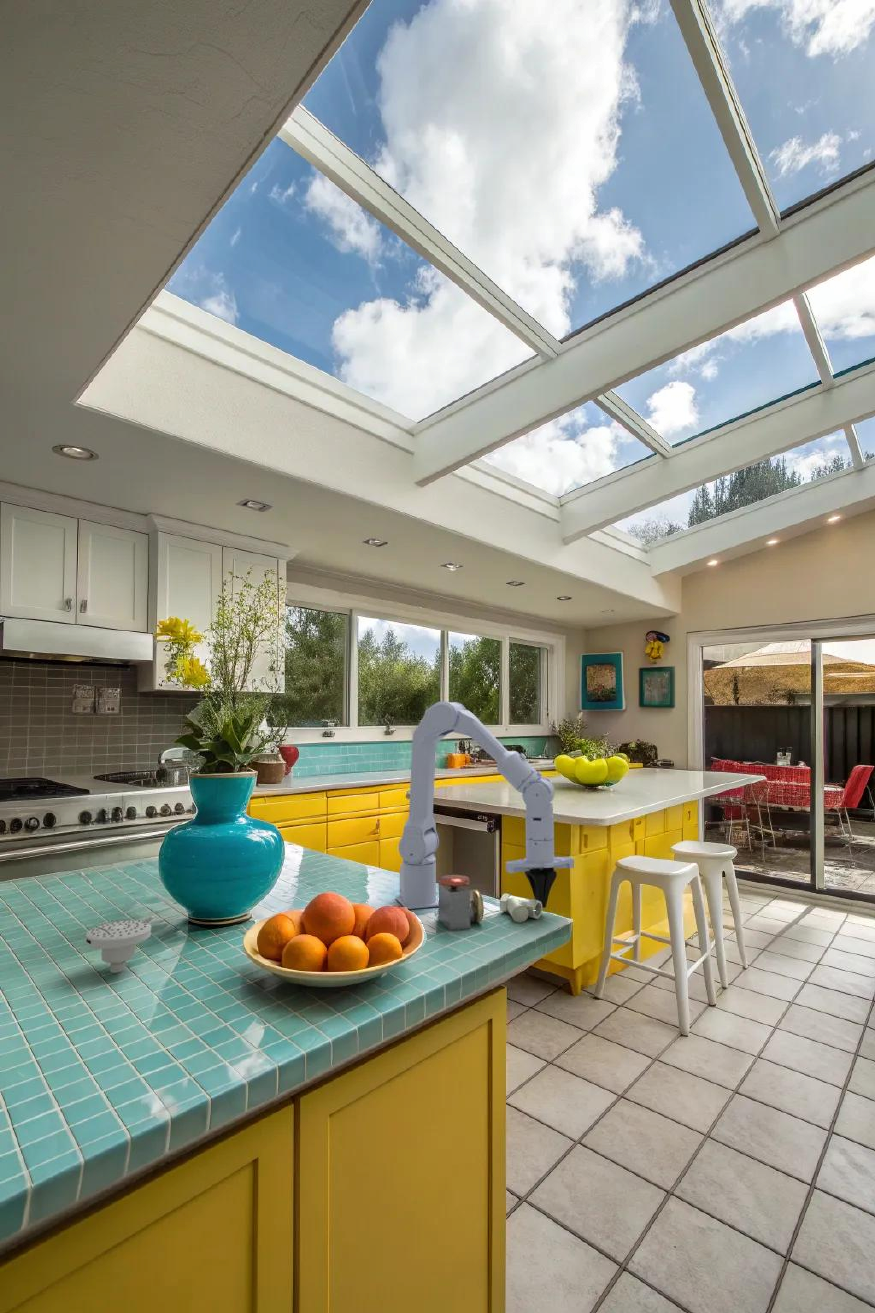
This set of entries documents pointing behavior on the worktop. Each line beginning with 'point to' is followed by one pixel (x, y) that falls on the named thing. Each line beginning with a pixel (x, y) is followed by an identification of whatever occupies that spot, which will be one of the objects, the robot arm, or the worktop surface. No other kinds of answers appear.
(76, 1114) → the worktop surface
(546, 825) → the robot arm
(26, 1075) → the worktop surface
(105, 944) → the showerhead
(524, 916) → the pipe fitting
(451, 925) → the grey block with discs
